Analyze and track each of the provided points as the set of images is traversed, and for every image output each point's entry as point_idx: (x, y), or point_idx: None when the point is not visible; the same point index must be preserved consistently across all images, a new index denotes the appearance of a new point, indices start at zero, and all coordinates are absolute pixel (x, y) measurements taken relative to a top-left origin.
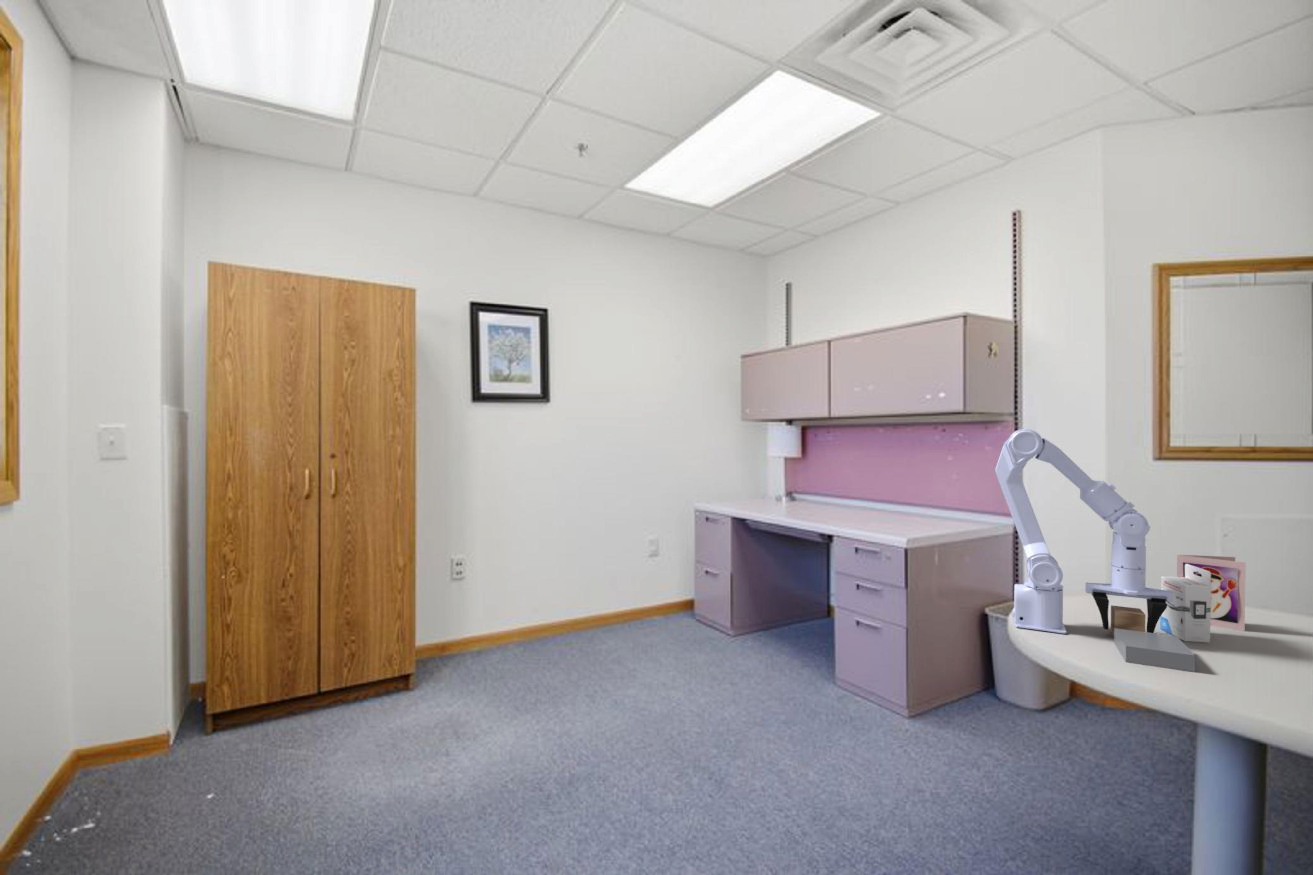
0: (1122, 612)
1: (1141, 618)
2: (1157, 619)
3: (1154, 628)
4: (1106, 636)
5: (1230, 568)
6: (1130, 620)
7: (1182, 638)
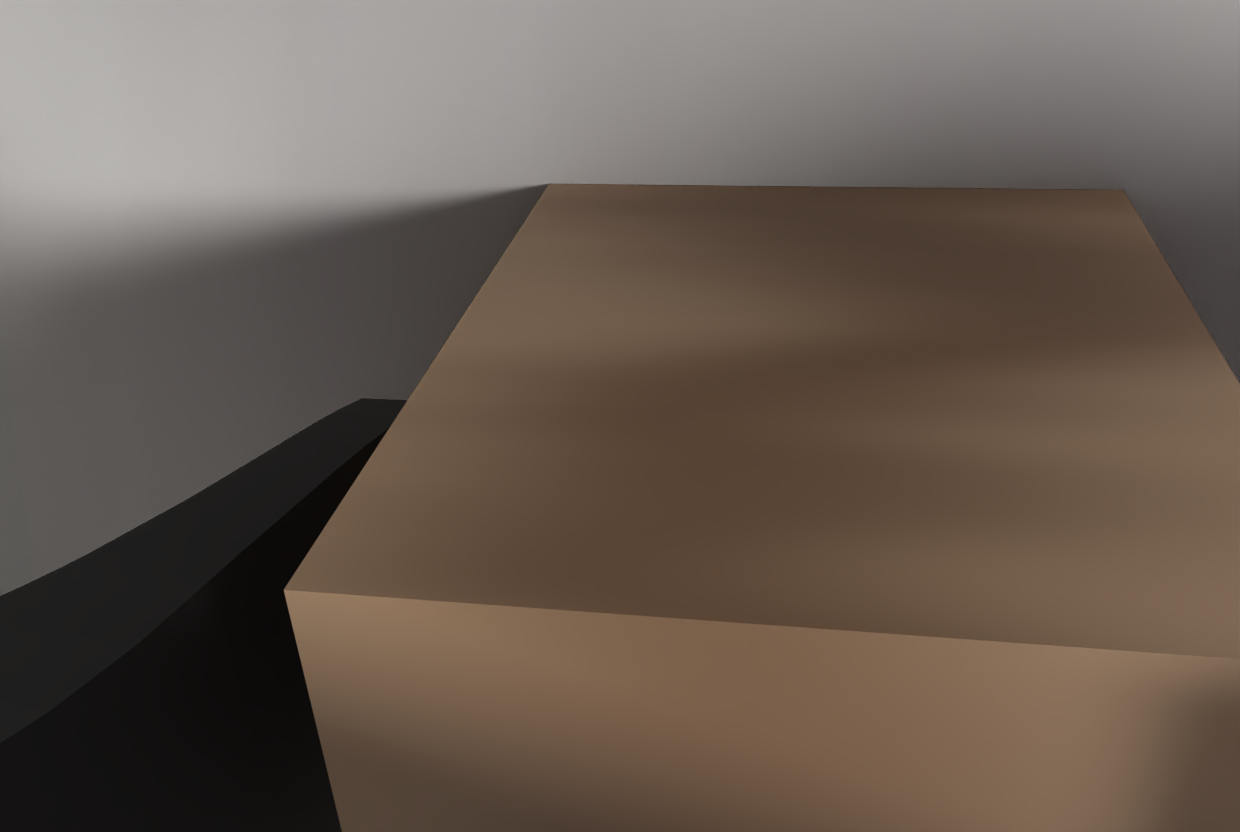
0: (1097, 637)
1: (459, 498)
2: (46, 582)
3: (257, 458)
4: (1233, 364)
5: None
6: (798, 453)
7: None
